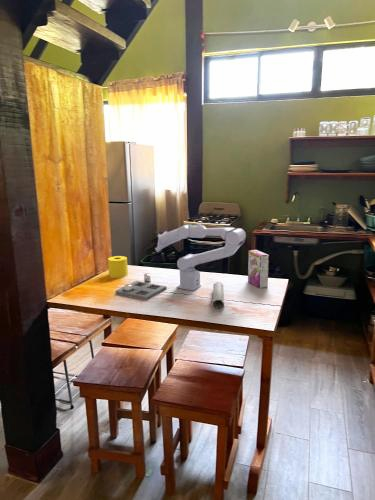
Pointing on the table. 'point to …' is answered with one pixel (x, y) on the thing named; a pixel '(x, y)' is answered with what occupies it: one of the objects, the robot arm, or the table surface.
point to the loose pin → (147, 278)
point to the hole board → (142, 290)
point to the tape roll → (117, 266)
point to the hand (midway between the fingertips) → (149, 246)
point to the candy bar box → (258, 268)
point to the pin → (128, 288)
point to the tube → (218, 297)
